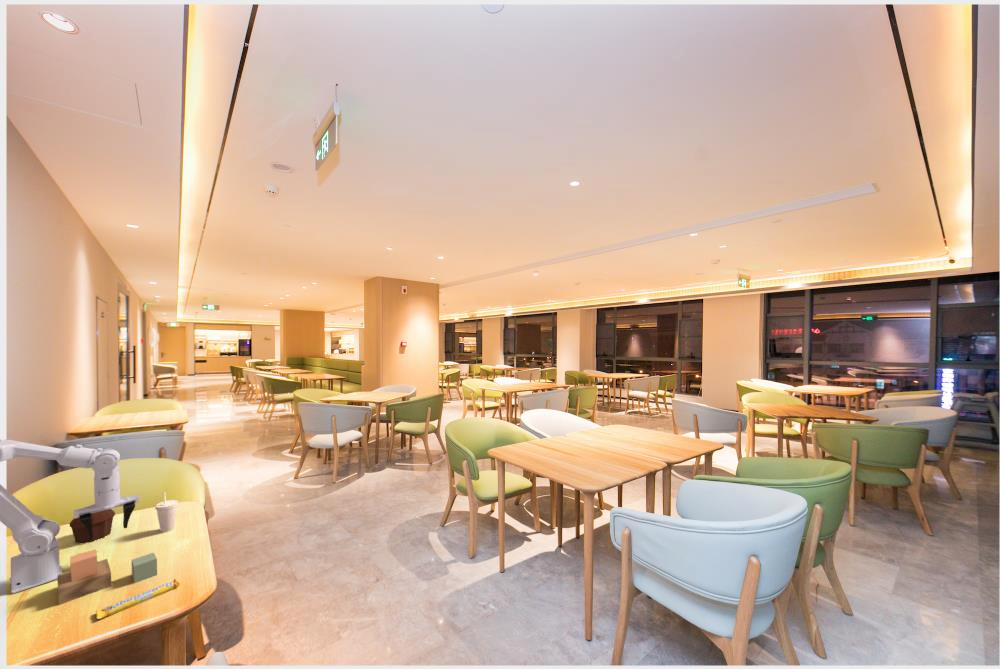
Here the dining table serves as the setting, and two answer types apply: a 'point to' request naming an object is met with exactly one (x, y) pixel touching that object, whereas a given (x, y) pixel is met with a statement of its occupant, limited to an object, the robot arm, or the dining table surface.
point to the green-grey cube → (144, 567)
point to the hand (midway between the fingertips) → (108, 531)
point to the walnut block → (83, 583)
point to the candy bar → (136, 599)
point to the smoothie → (166, 514)
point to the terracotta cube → (83, 565)
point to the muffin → (93, 526)
